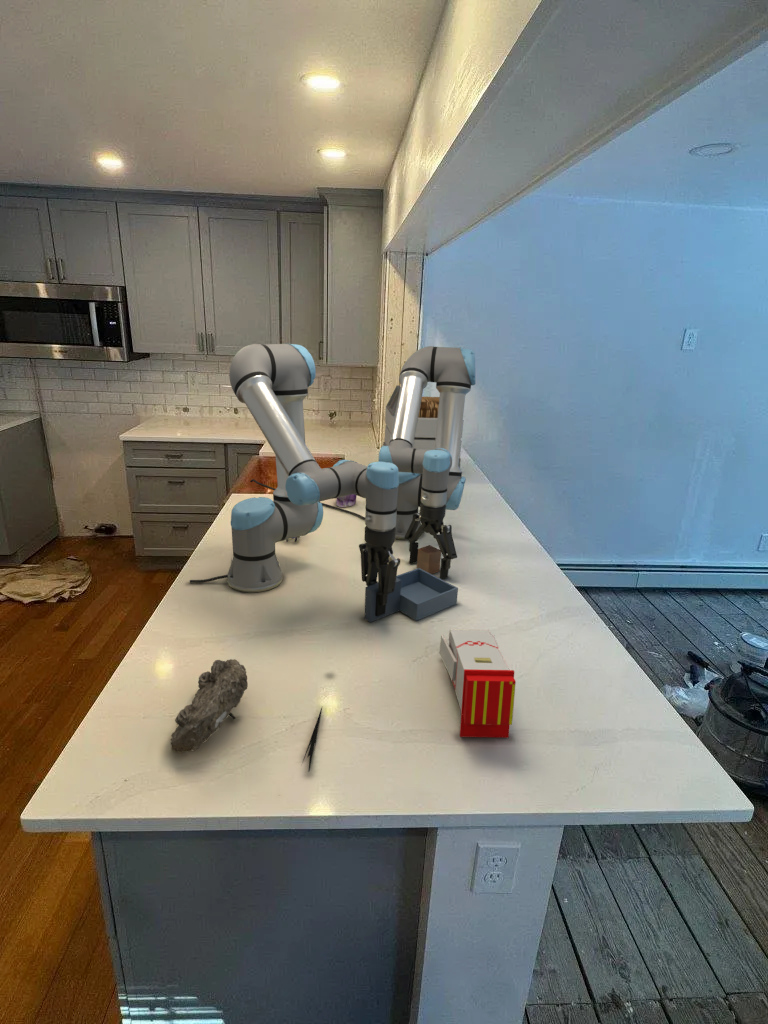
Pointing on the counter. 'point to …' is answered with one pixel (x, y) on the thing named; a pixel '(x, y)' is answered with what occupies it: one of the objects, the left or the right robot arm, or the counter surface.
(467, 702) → the toy
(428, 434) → the grey slatted box
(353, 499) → the figurine
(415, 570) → the tray
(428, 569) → the block
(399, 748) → the counter surface
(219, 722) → the fossil
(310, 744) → the feather
